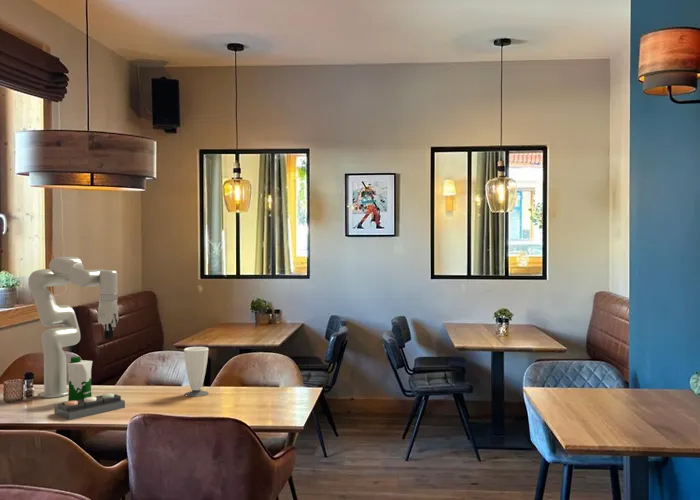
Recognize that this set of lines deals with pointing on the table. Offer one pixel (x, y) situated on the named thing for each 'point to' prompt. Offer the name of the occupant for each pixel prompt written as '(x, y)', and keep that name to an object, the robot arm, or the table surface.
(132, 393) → the table surface
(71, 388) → the milk carton
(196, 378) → the cup
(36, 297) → the robot arm
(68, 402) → the button terracotta
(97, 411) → the panel
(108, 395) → the button sage
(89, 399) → the button cream
